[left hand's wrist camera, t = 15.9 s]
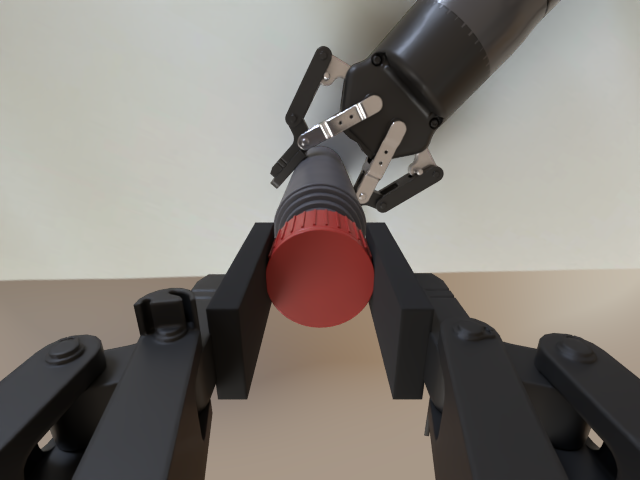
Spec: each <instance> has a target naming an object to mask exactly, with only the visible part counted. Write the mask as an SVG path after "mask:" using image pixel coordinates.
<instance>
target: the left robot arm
mask: <svg viewBox="0 0 640 480" xmlns="http://www.w3.org/2000/svg"><path fill="white" fill-rule="evenodd" d="M274 239H275V235H274V223H255V224H254V226H253V228H252V230H251V231H250V233H249V235H248V237H247V238H246V240H245V242H244V243H243V245H242V247H241V249H240V250H239V252H238V254H237V256H236V257H235V259H234V261H233V263H232V264H231V266H230V268H229V270H228V271H227V273H226V274H209V275H207V276H206V277H204V278H202V279H201V280H199V281H198V282H197V283H196V284H195V286H194V287H193V289H192V290H191V291H190V290H187V289H183V288H169V289H163V290H158V291H155V292H153V293H150V294H147V295H146V296H144V297H142V298H140V299H139V300H138V301H137V302H136V303H135V304H134V309H135V313H136V318H137V322H138V327H139V331H140V338H139V340H138V342H137V343H136V344H133V345H129V346H124V347H119V348H114V349H108V350H103V346H102V343H101V340H100V339H99V338H97V337H96V336H91V335H77V336H70V337H68V338H67V337H66V338H63V339H60V340H58V341H56V342H54V343H51V344H49V345H47V346H46V347H44V348H43V349H41V350H39V351H38V352H36V353H35V354H34V355H33V356H31V357H30V358H29V359H28V360H26V361H25V362H24V363H23V364H21V365H20V366H19V367H18V368H16V369H15V370H14V371H13V372H11V373H10V374H9V375H8V376H7V377H5V378H4V379H3V380H2V381H0V480H204V479H205V471H206V462H207V454H208V446H209V437H210V429H211V421H212V407H211V400H210V398H211V395H212V392H213V390H214V387H215V385H216V387H217V394H218V399H247V398H248V394H249V390H250V386H251V382H252V378H253V374H254V370H255V366H256V362H257V358H258V354H259V350H260V346H261V342H262V338H263V334H264V331H265V327H266V323H267V319H268V315H269V311H270V307H271V303H272V301H271V299H270V297H269V295H268V293H267V283H266V267H267V264H268V261H269V258H268V256H269V253H270V250H271V247H272V245H273V242H274ZM366 241H367V244H368V247H369V250H370V252H371V255H372V259H371V260H372V263H373V267H374V286H373V293H372V296H371V298H370V300H369V301H368V302H369V306H370V310H371V314H372V318H373V322H374V326H375V330H376V334H377V338H378V342H379V346H380V349H381V353H382V357H383V361H384V365H385V369H386V373H387V377H388V381H389V385H390V389H391V393H392V397H393V399H422V396H423V389H424V382H425V385H426V387H427V390H428V393H429V395H430V400H429V407H428V413H427V420H426V427H425V434H424V435H425V436H429V433H430V436H431V444H432V453H433V462H434V470H435V478H436V480H640V379H639V378H638V377H637V376H635V375H634V374H633V373H632V372H630V371H629V370H628V369H627V368H625V367H624V366H623V365H622V364H620V363H619V362H618V361H617V360H615V359H614V358H613V357H612V356H610V355H609V354H608V353H607V352H605V351H604V350H602V349H601V348H599V347H598V346H596V345H595V344H593V343H591V342H588V341H586V340H584V339H582V338H580V337H577V336H572V335H569V334H559V333H552V334H546V335H544V336H543V337H542V338H540V340H539V344H538V347H537V349H535V348H529V347H524V346H519V345H514V344H510V343H506V342H502V339H501V338H500V335H499V334H498V333H497V332H496V330H495V329H494V328H492V327H491V326H489V325H488V324H486V323H484V322H482V321H479V320H477V319H473V318H470V317H469V316H468V315H467V313H466V312H465V310H464V309H463V308H462V306H461V305H460V304H459V302H458V301H457V299H456V298H454V295H453V294H452V292H451V291H449V288H448V287H447V285H446V284H445V283H444V281H443V280H441V279H440V278H438V277H437V276H435V275H433V274H432V273H413V271H412V269H411V267H410V266H409V264H408V262H407V260H406V259H405V257H404V255H403V254H402V252H401V250H400V248H399V247H398V245H397V243H396V241H395V240H394V238H393V236H392V234H391V233H390V231H389V229H388V227H387V226H386V224H385V223H366ZM591 428H592V429H593V430H594V431H595V432H596V433H597V434H598V436H599V437H600V438H601V439H602V440H603V441H604V442H603V444H602V446H601V448H599V447H598V446H597V445H596V444H595V443H593V441H592V440H591V439H590V438H589V437H588V435H589V432H590V429H591ZM49 430H50V431H51V434H52V436H53V438H52V439H51V440H50V441H49V443H48V444H47V445H45V446H44V447H43V448H42V449H40V448H39V446H38V442H39V441H40V440H41V439H42V437H43V436H44V435H45V434H46V433H47V432H48V431H49Z"/></svg>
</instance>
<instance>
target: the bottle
mask: <svg viewBox="0 0 640 480" xmlns="http://www.w3.org/2000/svg"><path fill="white" fill-rule="evenodd" d="M307 152H308V153H307V156H306V157H305V158H304V159H303V160H302V162H301V163H300V164H299V165H298V166H297V167H296V168H295V170H294V172H293V175H292V177H291V179H290V181H289V184H288V186H287V188H286V191H285V193H284V195H283V198H282V200H281V202H280V205H279V207H278V209H277V212H276V215H275V219H274V235H275V238H276V237H277V234H278V231H279V229H282V228H283V226H284V225H285V222H288V221H290V220H291V219H292V218H293V217H294V216H297V215H299V214H302V213H303V212H304V211H305V212H308V211H313V210H314V209H316V210H325V209H327V210H328V211H332V212H335V211H336V212H338V213H339V214H341V215H343V216H347V218H348V219H349V220H351V221H352V222H355V224H356V226H357V227H358V229H359V230H361V231H362V233H363V236H364V239H365V236H366V218H365V214H364V211H363V209H362V207H361V204H360V202H359V200H358V197H357V195H356V193H355V191H354V188H353V186H352V184H351V181H350V179H349V177H348V174H347V172H346V170H345V167H344V165H343V163H342V160H341V158H340V157H339V155H338V154H337V153H336V152H335V151H334V150H332V149H330V148H328V147H324V146H316V147H312V148H310V149H309V150H308V151H307Z"/></svg>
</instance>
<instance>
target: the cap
mask: <svg viewBox="0 0 640 480" xmlns="http://www.w3.org/2000/svg"><path fill="white" fill-rule="evenodd" d="M268 258H269V261H268V264H267V267H266V283H267V293H268V295H269V297H270V299H271V301H272V303H273V304H274V306H275V307H276V308H277V309H278V310H279V311H280V312H281V313H282V314H283V315H284V316H286V317H287V318H288V319H290V320H292V321H294V322H296V323H298V324H301V325H305V326H309V327H318V328H321V327H331V326H336V325H339V324H342V323H344V322H346V321H348V320H350V319H352V318H353V317H355V316H356V315H357V314H358V313H360V312H361V311H362V309H363V308H364V307H365V306H366V305H367V303H368V301H369V300H370V298H371V296H372V293H373V286H374V267H373V263H372V260H371V259H372V255H371V252H370V250H369V247H368V244H367V241H366V238H365V239H364V236H363V233H362V231H361V230H359V229H358V227H357V226H356V224H355V222H352V221H351V220H349V219H348V218H347V216H343V215H341V214H339V213H338V212H336V211H335V212H332V211H328V210H327V209H325V210H316V209H314V210H313V211H308V212H305V211H304V212H303V213H302V214H299V215H297V216H294V217H293V218H292V219H291V220H290V221H288V222H285V225H284V226H283V228H282V229H279V231H278V234H277V237H276V238H275V239H274V242H273V245H272V247H271V250H270V253H269V256H268Z"/></svg>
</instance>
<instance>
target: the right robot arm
mask: <svg viewBox="0 0 640 480" xmlns="http://www.w3.org/2000/svg"><path fill="white" fill-rule="evenodd" d="M560 1H561V0H417V2H416V3H415V4H414V5H413V6H412V7H411V9H410V10H409V11H408V12H407V13H406V14H405V15H404V17H403V18H402V19H401V20H400V21H399V22H398V23H397V25H396V26H395V27H394V28H393V29H392V30H391V32H390V33H389V34H388V35H387V36H386V37H385V38H384V40H383V41H382V42H381V43H380V44H379V45H378V46H377V48H376V49H375V50H374V51H373V52H372V53H371V55H370V56H369V57H368V58H367V59H365V60H363V61H361V62H359V63H356V64H354V65H352V66H350V65H348V64H346V63H345V62H343V61H342V60H340V59H338V58H337V57H335V56H333V55H332V53H331V50H330V49H329V48H328V47H325V46H322V47H319V48H318V49H317V50H316V52H315V54H314V57H313V59H312V61H311V63H310V65H309V67H308V69H307V71H306V74H305V76H304V78H303V80H302V82H301V84H300V86H299V88H298V91H297V93H296V95H295V97H294V99H293V101H292V103H291V106H290V108H289V110H288V112H287V114H286V117H285V120H286V123H287V124H288V125H289V127H290V129H291V131H292V133H293V135H294V142H293V144H292V145H291V147H290V148H289V149H288V150H287V151H286V152H285V153H284V155H283V156H282V157H281V158H280V159H279V160H278V161H277V163H276V164H275V165H274V166H273V167H272V170H271V173H270V174H271V175H272V176H273V177H275V178H274V179H273V180H272V182H271V184H272V185H273V186H274V187H275V188H276V189H277V188H278V187H279V186H280V185H281V184H282V183H283V182H284V181H285V179H286V178H287V177H288V176H289V175H290V174H291V173H292V172H293V171H294V169H295V168H296V167H297V166H298V165H299V164H300V163H301V162H302V160H303V159H304V158H305V157H306V156H307V153H308V152H307V151H308V150H309V149H310V148H312V147H314V146H316V145H317V144H319V143H321V142H323V141H325V140H326V139H328V138H331V137H333V136H335V135H337V134H338V133H340V132H342V131H343V132H344V133H345V134H346V135H347V136H348V137H349V138H350V139H352V140H354V141H356V142H357V143H358V144H359V146H360V148H361V150H362V151H363V152H364V153H365V154H366V155H367V158H366V160H365V162H364V164H363V167H362V170H361V172H360V175H359V177H358V179H357V181H356V183H355V185H354V187H353V188H354V191H355V193H356V195H357V197H358V200H359V202H360V204H361V206H362V205H368V206H371V207H373V208H375V209H377V210H378V211H379V212H381V213H384V212H387V211H389V210H390V209H392V208H394V207H395V206H397V205H399V204H400V203H402V202H404V201H406V200H407V199H409V198H411V197H412V196H414V195H416V194H418V193H419V192H421V191H423V190H424V189H426V188H428V187H429V186H431V185H433V184H435V183H436V182H438V181H440V180H441V179H442V177H443V170H442V169H441V168H440V167H438V166H437V165H436V164H435V162H434V160H433V158H432V156H431V154H430V152H429V150H428V148H427V147H428V146H429V144H430V141H431V138H432V136H433V134H434V132H435V131H436V130H437V129H438V128H439V127H440V126H441V125H442V124H443V123H444V122H445V121H446V120H447V119H448V118H449V117H450V116H451V115H452V114H453V113H454V112H455V111H456V110H457V109H458V108H459V107H460V106H461V105H462V104H463V103H464V102H465V101H466V100H467V99H468V98H469V97H470V96H471V95H472V94H473V93H474V92H475V91H476V90H477V89H478V88H479V87H480V86H481V85H482V84H483V83H484V82H485V81H486V80H487V79H488V78H489V77H490V76H491V75H492V74H493V73H494V72H495V71H496V70H497V69H498V68H499V67H500V66H501V65H502V64H503V63H504V62H505V61H506V60H507V59H508V58H509V57H510V56H511V55H512V54H513V53H514V51H515V50H516V49H517V48H518V47H519V46H520V45H521V44H522V42H523V41H524V40H525V39H526V37H527V36H528V35H529V34H530V32H531V31H532V30H533V29H534V27H535V26H536V25H537V24H538V23H539V22H540V21H541V19H542V18H544V17H545V16H546V15H547V14H548V13H549V12H550V11H551V10H552V9H553V8H554V7H555V6H556V5H557V4H558V3H559V2H560ZM337 78H343V79H344V84H343V91H342V99H341V106H340V112H339V113H337V114H335V115H334V116H332V117H330V118H328V119H326V120H325V121H323V122H321V123H320V124H318V125H316V126H314V127H313V128H311V129H309V128H308V126H307V124H306V122H305V120H304V117H305V115H306V113H307V111H308V109H309V106H310V104H311V102H312V100H313V98H314V96H315V94H316V92H317V90H318V88H319V86H320V84H321V85H323V86H329V85H331V84H332V83H333V81H334V80H335V79H337ZM414 154H415V159H414V161H413V162H412V163H411V164H410V165H409V167H408V173H407V174H406V175H404V176H403V177H401V178H399V179H398V180H396V181H394V182H393V183H391V184H389V185H388V186H386V187H384V188H383V189H381V190H379V191H376V190H374V189H375V187H376V185H377V183H378V181H379V180H380V179H381V178H382V176H383V175H384V173H385V171H386V169H387V167H388V165H389V163H390V161H391V159H394V158H399V157H404V156H409V155H414ZM380 163H381V164H380Z"/></svg>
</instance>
